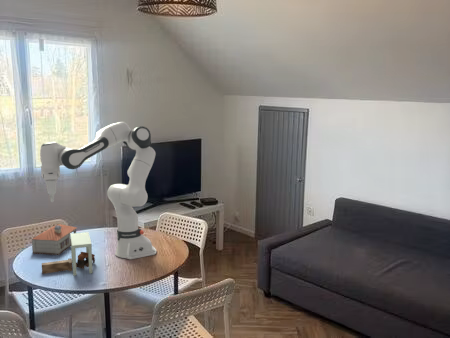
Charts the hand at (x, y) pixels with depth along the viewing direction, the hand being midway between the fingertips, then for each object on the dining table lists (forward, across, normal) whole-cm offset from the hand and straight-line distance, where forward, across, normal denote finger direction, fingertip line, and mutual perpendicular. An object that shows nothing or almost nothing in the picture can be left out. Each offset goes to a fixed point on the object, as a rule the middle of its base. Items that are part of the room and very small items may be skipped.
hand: (52, 199), depth 220 cm
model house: (+34, -21, +1) cm, 40 cm away
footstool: (+33, +14, +12) cm, 38 cm away
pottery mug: (+34, +15, +13) cm, 40 cm away
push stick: (+33, +14, 0) cm, 36 cm away
